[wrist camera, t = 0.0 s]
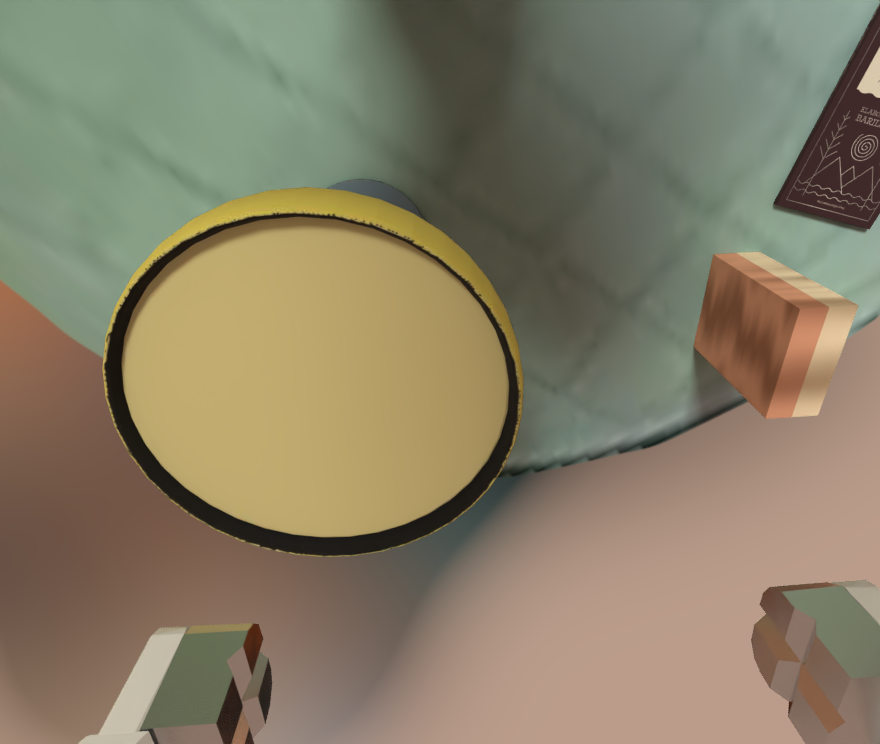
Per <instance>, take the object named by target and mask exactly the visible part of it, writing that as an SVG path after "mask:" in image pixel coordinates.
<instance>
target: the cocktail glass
mask: <svg viewBox="0 0 880 744" xmlns="http://www.w3.org/2000/svg"><path fill="white" fill-rule="evenodd" d="M103 377H104V385H105V394H106V400H107V403H108V406H109V409H110V413H111V416H112V419H113V422H114V426H115V428H116V430H117V432H118V434H119V435H120V437H121V439H122V441H123V443H124V445H125V447H126V449H127V451H128V453H129V454H130V456H131V457H132V458H133V460H134V461H135V462H136V464H137V465H138V466H139V468H140V469H141V470H142V471H143V473H144V474H145V476H146V477H147V478H148V479H149V480H150V481H151V482H152V483H153V484H154V485H155V486H156V487H157V488H158V489H159V490H160V491H161V492H162V493H163V494H164V495H165V496H166V497H167V498H168V499H170V500H171V501H172V502H173V503H175V504H176V505H177V506H179V507H180V508H181V509H183V510H184V511H185V512H187V513H188V514H189V515H191V516H192V517H194V518H196V519H198V520H199V521H201V522H203V523H205V524H206V525H208V526H210V527H212V528H213V529H215V530H217V531H220V532H222V533H224V534H226V535H229V536H231V537H233V538H235V539H238V540H240V541H243V542H246V543H249V544H253V545H256V546H259V547H262V548H266V549H269V550H274V551H280V552H285V553H290V554H295V555H307V556H320V557H330V556H331V557H332V556H355V555H361V554H368V553H375V552H380V551H384V550H388V549H392V548H395V547H399V546H403V545H406V544H408V543H411V542H413V541H416V540H418V539H421V538H423V537H425V536H428V535H430V534H432V533H434V532H435V531H437V530H439V529H441V528H442V527H444V526H446V525H448V524H449V523H451V522H452V521H454V520H455V519H457V518H458V517H459V516H460V515H462V514H463V513H464V512H466V511H467V510H468V509H469V508H471V507H472V506H473V505H474V504H475V503H476V501H478V500H479V499H480V498H481V497H482V496H483V494H484V493H485V492H486V491H487V490H488V489H489V488H490V486H491V485H492V484H493V482H494V481H495V479H496V478H497V476H498V475H499V473H500V472H501V470H502V469H503V467H504V465H505V463H506V461H507V459H508V457H509V455H510V452H511V450H512V448H513V446H514V443H515V441H516V437H517V432H518V428H519V424H520V420H521V416H522V403H523V374H522V367H521V360H520V353H519V347H518V343H517V340H516V337H515V334H514V331H513V328H512V325H511V322H510V320H509V317H508V314H507V311H506V309H505V307H504V305H503V304H502V302H501V300H500V298H499V297H498V295H497V293H496V291H495V290H494V288H493V286H492V284H491V282H490V281H489V279H488V278H487V277H486V276H485V274H484V273H483V272H482V271H481V270H480V268H479V267H478V266H477V265H476V263H475V262H474V261H473V260H472V259H471V257H470V256H469V255H468V254H467V253H466V252H465V251H464V250H463V249H462V248H460V247H459V246H458V245H457V244H456V243H455V242H454V241H452V240H451V239H450V238H449V237H448V236H447V235H446V234H445V233H443V232H442V231H441V230H439V229H437V228H436V227H434V226H433V225H431V224H429V223H428V222H426V221H425V220H423V218H422V216H421V214H420V213H419V211H418V209H417V208H416V207H415V205H414V204H413V203H412V202H411V201H410V200H409V199H408V198H407V197H406V196H405V195H404V194H402V193H401V192H400V191H398V190H396V189H395V188H393V187H391V186H389V185H387V184H384V183H381V182H378V181H374V180H365V179H356V180H348V181H344V182H340V183H337V184H335V185H333V186H331V187H329V188H327V189H322V188H310V187H303V188H292V189H281V190H270V191H265V192H261V193H258V194H254V195H250V196H247V197H243V198H239V199H236V200H232V201H229V202H227V203H225V204H223V205H220V206H218V207H216V208H214V209H212V210H210V211H208V212H206V213H204V214H202V215H200V216H198V217H196V218H194V219H193V220H191V221H190V222H188V223H187V224H186V225H184V226H183V227H182V228H180V229H179V230H178V231H176V232H175V233H174V234H172V235H171V236H170V237H168V238H167V239H166V240H164V241H163V242H162V243H161V244H160V245H159V246H158V247H157V248H156V249H155V250H154V251H153V253H152V254H151V255H150V256H149V257H148V258H147V259H146V260H145V262H144V263H143V264H142V265H141V266H140V267H139V268H138V269H137V271H136V272H135V273H134V274H133V276H132V278H131V280H130V281H129V283H128V285H127V287H126V288H125V290H124V292H123V294H122V295H121V297H120V299H119V301H118V302H117V304H116V306H115V309H114V312H113V315H112V318H111V321H110V325H109V328H108V331H107V334H106V338H105V349H104V360H103Z"/></svg>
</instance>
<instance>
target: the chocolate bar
mask: <svg viewBox="0 0 880 744" xmlns="http://www.w3.org/2000/svg"><path fill="white" fill-rule="evenodd" d="M774 204H776V205H780V206H783V207H787V208H791V209H795V210H799V211H802V212H806V213H810V214H814V215H818V216H821V217H825V218H829V219H833V220H837V221H840V222H844V223H848V224H852V225H856V226H859V227H863V228H867V229H870V228H871V226H872V225H873V223H874V221H875V220H876V218H877V217H878V215H879V214H880V4H879V6H878V8H877V9H876V11H875V13H874V15H873V17H872V19H871V21H870V23H869V24H868V26H867V28H866V30H865V32H864V34H863V36H862V38H861V40H860V41H859V43H858V45H857V47H856V49H855V51H854V53H853V55H852V56H851V58H850V60H849V62H848V64H847V66H846V68H845V70H844V71H843V73H842V75H841V77H840V79H839V81H838V83H837V85H836V87H835V88H834V90H833V92H832V94H831V96H830V98H829V100H828V102H827V103H826V105H825V107H824V109H823V111H822V113H821V115H820V117H819V119H818V120H817V122H816V124H815V126H814V128H813V130H812V132H811V134H810V135H809V137H808V139H807V141H806V143H805V145H804V147H803V149H802V150H801V152H800V154H799V156H798V158H797V160H796V162H795V164H794V166H793V167H792V169H791V171H790V173H789V175H788V177H787V179H786V181H785V182H784V184H783V186H782V188H781V190H780V192H779V194H778V196H777V198H776V199H775V201H774Z"/></svg>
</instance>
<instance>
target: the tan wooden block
mask: <svg viewBox="0 0 880 744" xmlns="http://www.w3.org/2000/svg"><path fill="white" fill-rule="evenodd" d="M858 306H859V305H857V304H855V303H853V302H851V301H849V300H848V299H846V298H844V297H842V296H840V295H838V294H836V293H835V292H833V291H831V290H829V289H827V288H825V287H823V286H822V285H820V284H818V283H816V282H814V281H812V280H810V279H809V278H807V277H805V276H803V275H801V274H799V273H797V272H796V271H794V270H792V269H790V268H788V267H786V266H784V265H783V264H781V263H779V262H777V261H775V260H773V259H771V258H770V257H768V256H766V255H764V254H762V253H760V252H747V253H730V254H713V259H712V263H711V268H710V273H709V277H708V282H707V287H706V291H705V296H704V301H703V305H702V310H701V314H700V319H699V324H698V328H697V333H696V338H695V342H694V347H695V348H696V349H697V350H698V351H699V352H700V353H701V354H702V355H703V356H704V357H705V358H706V359H707V360H708V361H709V362H710V363H711V364H712V365H713V366H714V367H715V368H716V369H717V370H718V371H719V372H720V373H721V374H722V375H723V376H724V377H725V378H726V379H727V380H728V381H729V382H730V383H731V384H732V385H733V386H734V387H735V388H736V389H737V390H738V391H739V392H740V393H741V394H742V395H743V396H744V397H745V398H746V399H747V400H748V402H749V403H750V404H751V405H752V406H753V407H755V409H756V410H758V412H759V413H761V415H762V416H764V417H765V418H766V419H767V418H784V417H799V416H815V415H818V413H819V411H820V408H821V405H822V403H823V400H824V397H825V395H826V392H827V389H828V386H829V383H830V381H831V378H832V375H833V373H834V370H835V368H836V365H837V362H838V360H839V357H840V354H841V351H842V348H843V346H844V344H845V341H846V338H847V336H848V333H849V330H850V327H851V325H852V322H853V319H854V317H855V314H856V311H857V309H858Z"/></svg>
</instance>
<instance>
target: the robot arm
mask: <svg viewBox="0 0 880 744" xmlns="http://www.w3.org/2000/svg"><path fill="white" fill-rule="evenodd" d="M760 605H761V607H762V608H763V610H764V611H765V613H766V615H765V616H764V617H762V618H761V619H760V620H759V621H758V622H757V623H756V624H755V625H754V629H753V634H752V639H751V641H752V648H753V653H754V658H755V661H756V663H757V665H758V668H759V670H760V672H761V674H762V676H763V678H764V679H765V681H766V682H767V684H768V686H769V687H770V688H771V689H772V690H773V691H775V692H776V693H778V694H779V695H781V696H782V697H783V698H785V699H786V700H787V701H789V711H788V717H789V719H790V720H791V722H792V723H793V725H794V727H795V728H796V729H797V731H798V733H799V734H800V736H801V737H802V739H803V741H804V742H805V744H880V589H879V588H878V587H877V586H875V585H874V584H872V583H870V582H868V581H866V580H859V581H845V582H833V583H828V582H826V583H813V584H801V585H789V586H777V587H769V588H768V589H767V590H766V591H765V592H764V593H763V595H762V599H761V602H760ZM262 641H263V636H262V633H261V630H260V627H259V624H254V623H252V624H227V625H203V626H187V627H166V628H159V629H158V630H157V631H156V632H155V633H154V634H153V635H152V636H151V637H150V638H149V640H148V642H147V644H146V646H145V648H144V650H143V652H142V654H141V655H140V657H139V659H138V661H137V663H136V665H135V667H134V668H133V670H132V672H131V674H130V676H129V678H128V680H127V682H126V683H125V686H124V687H123V689H122V691H121V693H120V695H119V697H118V699H117V700H116V702H115V704H114V706H113V708H112V710H111V712H110V713H109V715H108V717H107V719H106V721H105V723H104V725H103V727H102V728H101V730H100V732H99V734H93V735H87V736H86V737H85V738H84V739H83V740H82V741H80V743H78V744H254V741H253V738H254V736H255V735H256V734H257V733H258V732H259V731H260V730H261V729H262V727H263V726H264V725H265V724H266V720H267V715H268V711H269V707H270V700H271V690H272V675H271V667H270V663H269V659H268V658H267V657H266V656H265V655H263V654H262V653H261V652H260V648H261V645H262Z"/></svg>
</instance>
